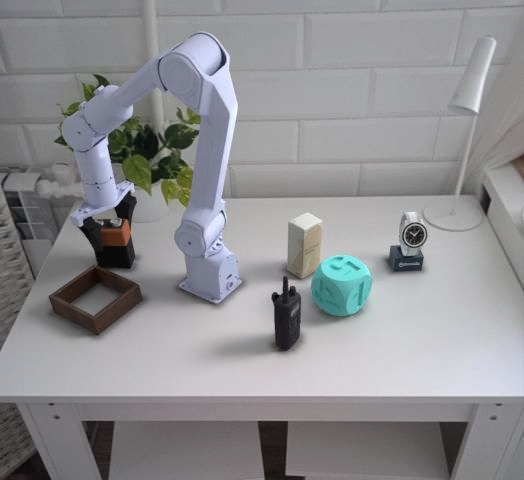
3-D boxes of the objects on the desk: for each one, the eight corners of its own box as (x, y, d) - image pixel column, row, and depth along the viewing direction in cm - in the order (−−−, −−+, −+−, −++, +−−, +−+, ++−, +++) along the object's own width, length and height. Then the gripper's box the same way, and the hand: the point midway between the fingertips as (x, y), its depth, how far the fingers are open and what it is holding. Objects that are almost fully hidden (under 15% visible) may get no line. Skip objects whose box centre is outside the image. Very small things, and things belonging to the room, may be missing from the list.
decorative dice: (344, 323, 110) (347, 287, 105) (309, 304, 114) (310, 269, 109) (370, 301, 114) (375, 265, 109) (335, 283, 118) (338, 248, 113)
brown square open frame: (142, 300, 116) (139, 284, 114) (98, 335, 110) (93, 319, 107) (98, 279, 121) (94, 263, 118) (53, 312, 114) (47, 296, 112)
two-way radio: (287, 354, 105) (287, 284, 94) (265, 345, 107) (263, 275, 96) (303, 335, 108) (305, 265, 98) (281, 326, 110) (281, 257, 100)
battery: (131, 269, 123) (122, 227, 116) (97, 269, 124) (86, 226, 117) (136, 256, 126) (127, 214, 119) (103, 256, 127) (92, 213, 120)
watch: (395, 278, 119) (402, 229, 111) (387, 253, 125) (393, 205, 117) (424, 276, 119) (433, 227, 111) (414, 251, 125) (423, 203, 117)
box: (301, 279, 119) (302, 230, 112) (286, 269, 122) (286, 221, 114) (320, 268, 122) (323, 219, 114) (305, 258, 124) (307, 210, 116)
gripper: (110, 154, 117) (123, 217, 127) (51, 188, 109) (70, 252, 119) (137, 164, 114) (149, 227, 124) (79, 199, 106) (96, 264, 116)
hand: (112, 240), depth 121 cm, fingers open, 7 cm apart
